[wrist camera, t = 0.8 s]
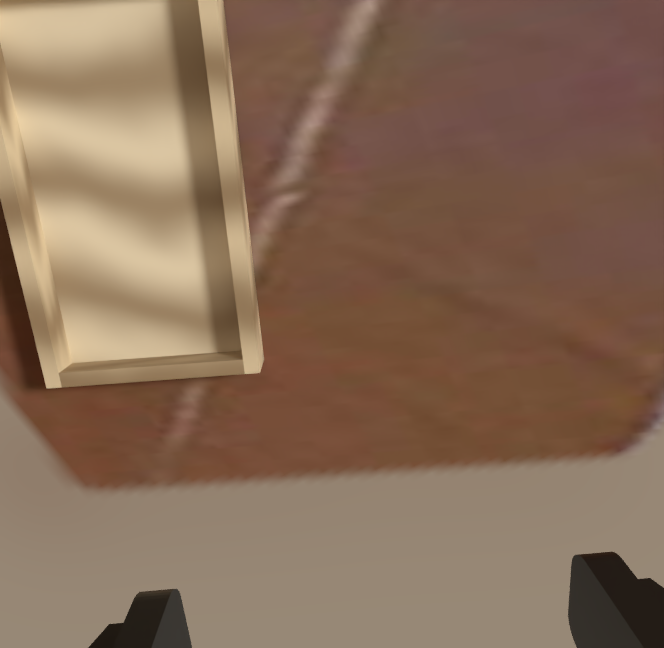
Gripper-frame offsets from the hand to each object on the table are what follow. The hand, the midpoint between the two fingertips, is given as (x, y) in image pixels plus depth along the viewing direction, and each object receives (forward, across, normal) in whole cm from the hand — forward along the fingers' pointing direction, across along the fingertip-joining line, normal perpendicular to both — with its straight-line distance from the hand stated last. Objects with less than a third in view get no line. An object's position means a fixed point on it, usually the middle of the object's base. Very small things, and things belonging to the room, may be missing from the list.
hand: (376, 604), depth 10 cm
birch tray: (+25, +12, -8) cm, 29 cm away
